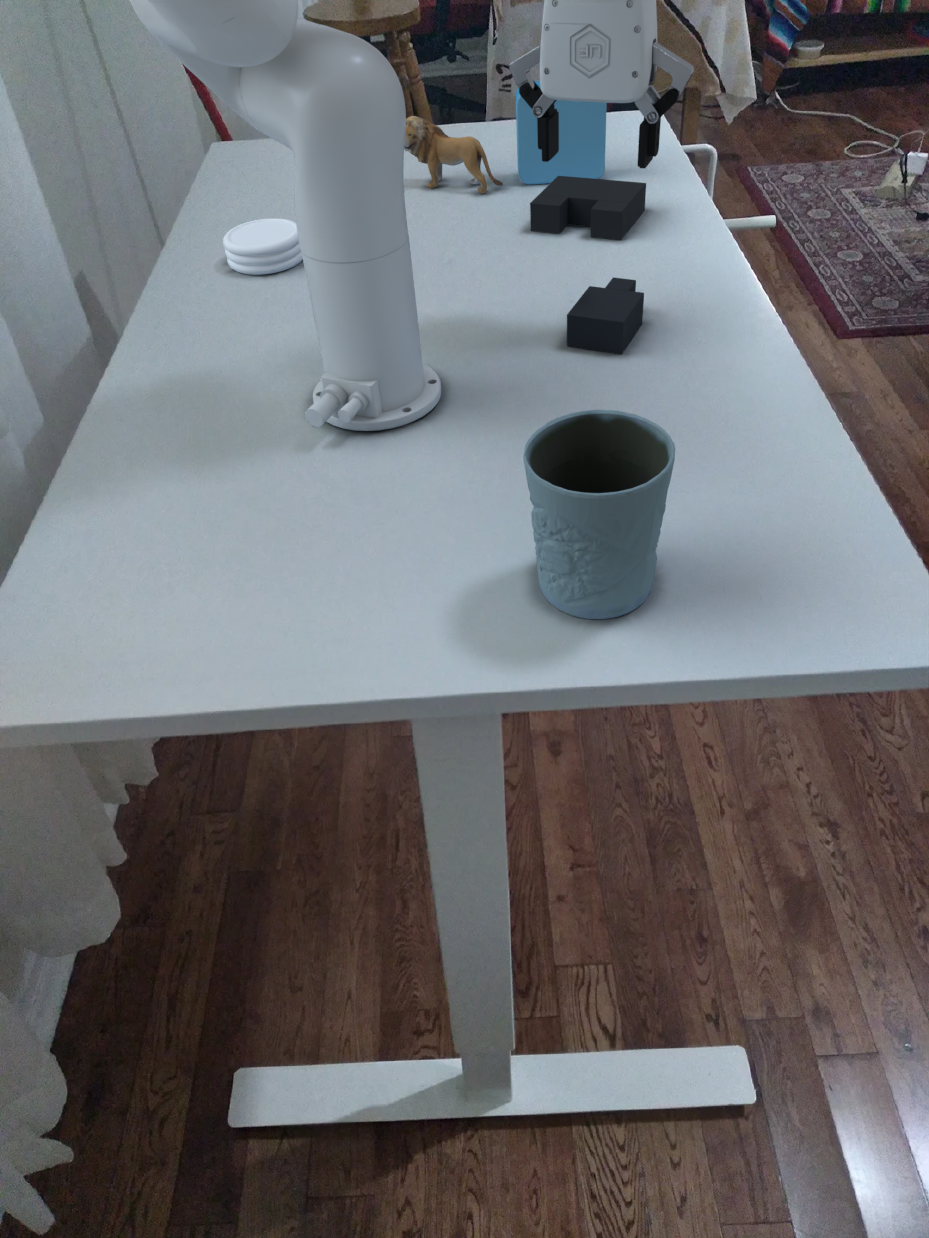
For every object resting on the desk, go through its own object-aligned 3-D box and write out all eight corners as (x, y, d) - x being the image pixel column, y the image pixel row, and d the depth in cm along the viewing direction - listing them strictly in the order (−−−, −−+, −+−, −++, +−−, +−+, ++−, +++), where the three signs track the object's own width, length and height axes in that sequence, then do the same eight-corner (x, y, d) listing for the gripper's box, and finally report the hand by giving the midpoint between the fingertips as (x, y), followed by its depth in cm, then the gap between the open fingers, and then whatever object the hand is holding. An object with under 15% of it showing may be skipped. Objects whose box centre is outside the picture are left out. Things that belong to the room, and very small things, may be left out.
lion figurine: (399, 190, 137) (392, 122, 131) (413, 177, 141) (407, 110, 135) (497, 196, 133) (494, 125, 127) (509, 182, 137) (507, 113, 131)
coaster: (215, 275, 120) (208, 247, 118) (247, 243, 127) (241, 216, 125) (290, 278, 118) (284, 249, 116) (318, 245, 125) (313, 217, 122)
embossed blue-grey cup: (650, 537, 77) (660, 404, 68) (675, 624, 69) (690, 486, 61) (522, 547, 77) (517, 415, 69) (533, 634, 69) (529, 499, 61)
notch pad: (621, 240, 119) (622, 211, 117) (530, 231, 123) (529, 203, 121) (644, 210, 126) (646, 183, 123) (558, 202, 130) (558, 175, 127)
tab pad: (622, 354, 98) (623, 322, 96) (566, 346, 100) (566, 314, 98) (649, 313, 105) (651, 281, 102) (597, 306, 107) (597, 275, 104)
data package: (602, 169, 138) (604, 76, 130) (604, 180, 135) (607, 85, 126) (517, 174, 139) (515, 82, 131) (518, 186, 135) (515, 91, 127)
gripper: (491, -40, 83) (500, 168, 95) (691, -41, 77) (675, 180, 89) (522, -57, 88) (527, 143, 100) (712, -59, 82) (694, 153, 94)
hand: (597, 160), depth 94 cm, fingers open, 9 cm apart
